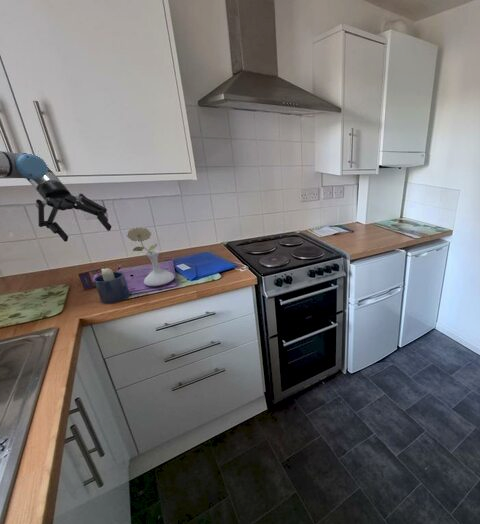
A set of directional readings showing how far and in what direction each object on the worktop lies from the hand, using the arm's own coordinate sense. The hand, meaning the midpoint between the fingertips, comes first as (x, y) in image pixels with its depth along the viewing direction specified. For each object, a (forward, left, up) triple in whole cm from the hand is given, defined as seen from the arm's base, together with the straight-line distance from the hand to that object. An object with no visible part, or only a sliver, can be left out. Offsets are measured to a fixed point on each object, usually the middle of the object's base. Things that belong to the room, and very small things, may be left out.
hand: (89, 233), depth 108 cm
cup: (+2, -1, -26) cm, 26 cm away
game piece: (+2, -1, -25) cm, 25 cm away
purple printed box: (-13, +11, -26) cm, 31 cm away
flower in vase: (+12, +11, -26) cm, 31 cm away
